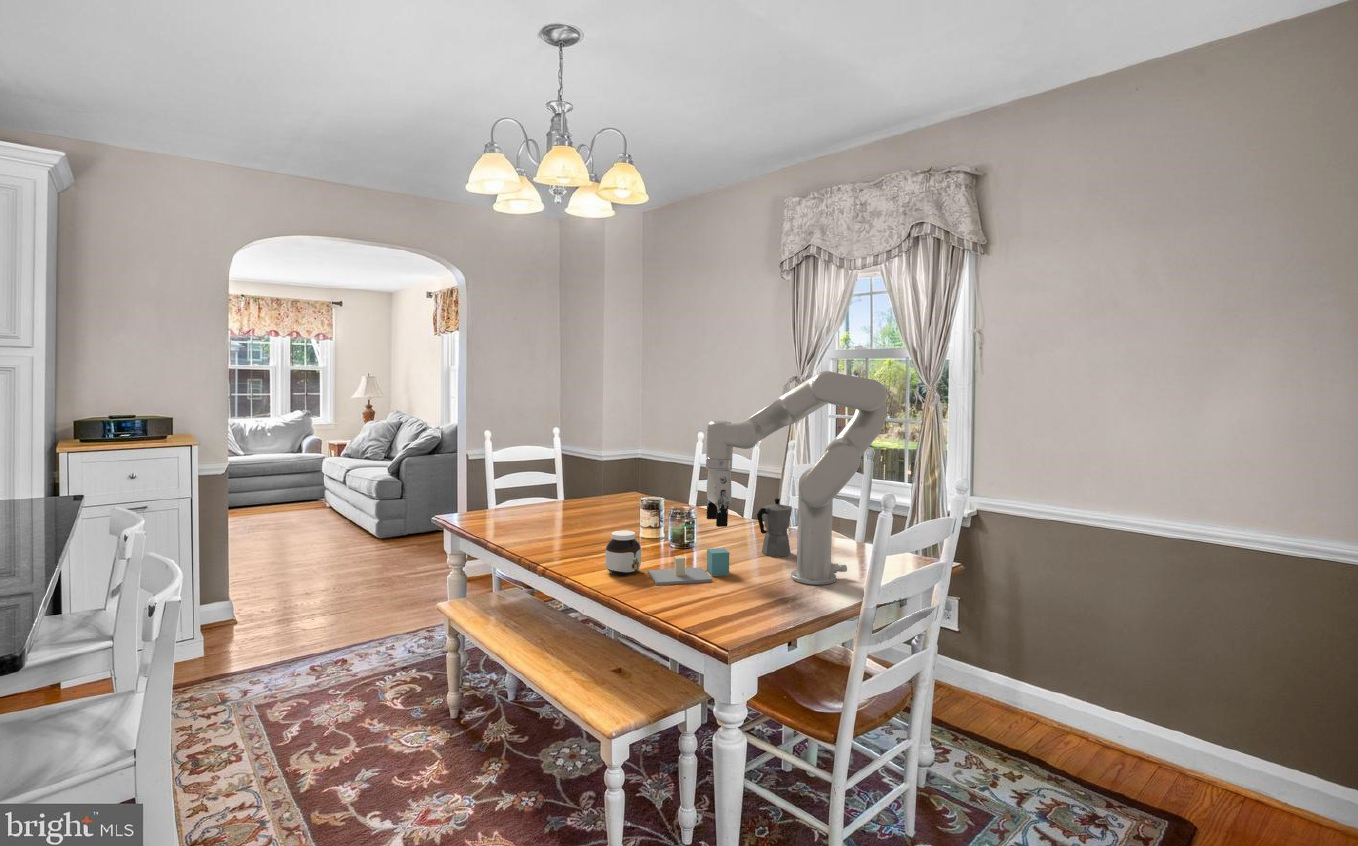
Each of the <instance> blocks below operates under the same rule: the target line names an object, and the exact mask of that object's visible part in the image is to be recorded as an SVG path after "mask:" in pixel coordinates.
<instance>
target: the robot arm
mask: <svg viewBox="0 0 1358 846" xmlns="http://www.w3.org/2000/svg"><path fill="white" fill-rule="evenodd" d="M886 400H887V390H886V387H885V386H884V384H883V383H882V382H880V381H878V380H876V379H873V378H868V377H867V378H865V377H860V376H855V375H848V374H843V373H839V372H834V371H830V370H825V371H823V370H822V371H819V372H818V373H817V374H815V375H814V376H812V377H810V378H808V379H807V380H804V382H802V383H801V384H799V385H797V386H795V387H794V388H792V389H790V390H789V391H787V392H785V393H784V394H782V395H781V396H779V397H778V398H776V400H774V401H773V402H772V403H771V404H769V405H767V406H766V407H764V408H763V409H760V410H759V411H758V412H756V413H754V414H753V415H752V416H749V417H748V418H746V419H745V420H743V421H742V422H737V423H735V422H734V423H732V422H730V421H727V420H725V421H724V420H712V421H709V422H708V423H707V428H706V454H705V455H706V457H705V469H706V470H707V479H706V499H707V501H706V519H707V520H716V521H715V526H716V527H718V528H723V527H728V523H729V521H728V520H729V508H730V507H729V506H730V505H731V504H732V474H731V470H733V453H734V452H733V451H734V450H733V449H734V448H737V449H744V450H750V449H753V448H754V447H755V446H756V445H757V444H758V443H759V442H760V441H762V440H764V439H765V438H768V437H769V436H770V435H772V434H774V433H775V432H777V431H779V430H780V429H783V428H784V427H787V426H791V425H794V424H795V423H798V422H799V421H802V419H804V418H806V417H807V416H809V415H810V414H813V413H814V412H816V411H818V410H820V409H821V408H823V407H824V406H825V405H827V404H830V405H834V406H839V407H844V408H850V409H854V410H855V411H854V413H853V415H852V417H851V419H850V420H849V421H848V423H847V424H846V425H845V426H844V427H843V429H842V430H840V432H839V433H838V434H837V435H836V437H834V439H832V441H830V443H829V444H828V445H827V446H826V447H825V449H824V453H823V454H822V456H820V458H819V459H818V461H817V462H815V464H814V466H812V467H811V468H807V469H806V470H805V471H803V473H801V475H800V477H799V479H798V487H797V488H798V490H797V491H798V500H797V501H798V504H797V506H798V509H797V536H796V537H797V541H796V543H797V544H796V545H797V547H796V569H795V570H792V571H791V573H790V578H791V579H792V580H793V581H795V582H797V583H800V584H805V585H817V586H823V585H829V584H834V583H835V582H837V575H836V574H837V573H838V572H840V573H843V572H844V573H845V572H847V570H848V567H847V565H846V564H839V563H833V562H832V542H833V541H832V538H833V537H832V536H833V535H832V533H833V508H834V507H833V504H834V503H833V502H834V498H835V497H836V496H837V495H838V494H839V493H840V492H841V490H842V489H843V488H844V487H845V486H846V485H847V483H849V481H851V479H852V478H853V477H854V475H855V474H856V473H857V472H858V469H859V468H860V466H861V462H862V460H861V459H862V456H863V455H864V454H865V452H866V451H867V450H868V449H869V447H870V446H871V445H872V444H873V442H874V441H875V440H876V439H877V437H878V436H879V435H880V433H881V431H882V430H883V427H884V425H885V423H886V419H887V401H886Z"/></svg>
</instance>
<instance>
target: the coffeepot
mask: <svg viewBox="0 0 1358 846" xmlns="http://www.w3.org/2000/svg"><path fill="white" fill-rule="evenodd" d="M780 501H781V500H780V498H778V497H777V498H774V502H775V503H773V504H767V505H764V506H762V507H761V508H759V510H758V512H757V513H756V517H757V521H758V526H759V531H760V533H761V534H764V537H763V544H762V548H761V553H762V554H763V555H764V556H767V557H772V558H785V557H788V556H790V554H792V553H791V545H790V540H789V534H788V529H789V528H790V523H791V522H790V521H791V516H792V510H793V508H792V506H790V505H785V504H780Z"/></svg>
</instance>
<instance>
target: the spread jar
mask: <svg viewBox="0 0 1358 846" xmlns="http://www.w3.org/2000/svg"><path fill="white" fill-rule="evenodd" d="M604 557H605V560H604V561H605V568H606V570H607V571H608V572H609V573H610V574H612V575H614V576H618V577H625V576H626V577H628V576H633V575H635V574H636V573H637V572H638V571H639V570H640V567H641V565H642V564H641V563H642V547H641V544H640V543H639V541H638V540H637V539H636V532H635V531H633V530H632V531H631V530H623V529H622V530H615V531H612V532H611V539H610V540H609V541H608V543H607V545H606V548H605V555H604Z"/></svg>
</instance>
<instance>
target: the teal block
mask: <svg viewBox="0 0 1358 846" xmlns="http://www.w3.org/2000/svg"><path fill="white" fill-rule="evenodd" d="M706 573H707V574H708V575H709V576H710V577H715V576H716V577H718V576H719V577H720V576H729V575H730V552H729V550H727V549H726V548H725V547H720V548H719V547H717V548H707V549H706Z"/></svg>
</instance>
